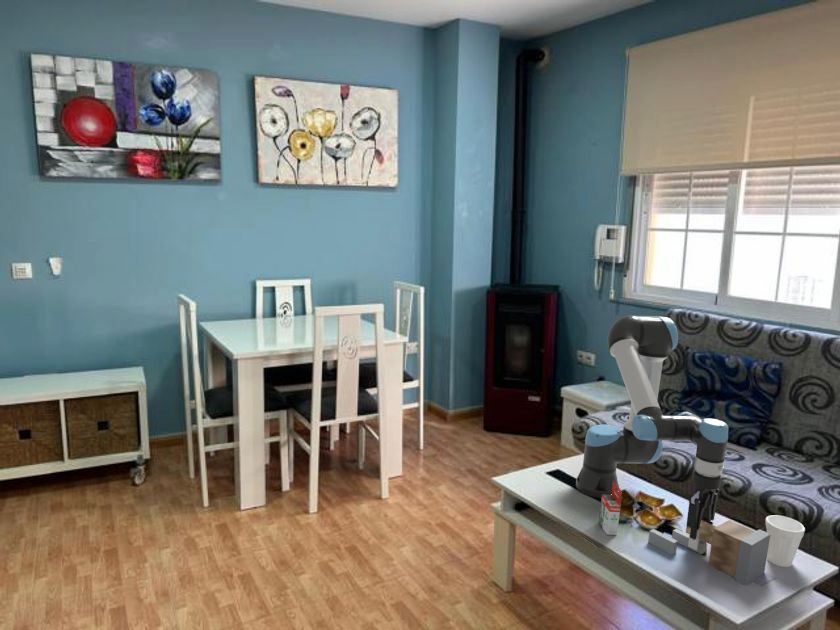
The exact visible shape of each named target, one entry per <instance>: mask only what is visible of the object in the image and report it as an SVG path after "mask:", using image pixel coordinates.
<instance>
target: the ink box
mask: <svg viewBox="0 0 840 630" xmlns="http://www.w3.org/2000/svg"><path fill="white" fill-rule="evenodd" d="M616 488H617V489H618V491H619V492H618V491H617V489H616ZM622 497H623V492H622V490H621V489H620V486H619V487H618V486H617V485H616V484H615V482H614V481H613V487H612V495H602V498H600V499H601V501H600V506H599V507H600V509H599V515H598V516H599V517H598V524H599V525H600V527H601V528H602V530H603V532H604V534H605V535H608V536H617V535H618V529H619V521H620V514H621V505H622Z"/></svg>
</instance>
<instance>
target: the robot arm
mask: <svg viewBox="0 0 840 630" xmlns="http://www.w3.org/2000/svg"><path fill="white" fill-rule="evenodd" d="M609 328H610V329H609V331H608V334H607V338H606V339H607V342H606V343H607V347H608V351H609V354H610V356H612V357H613V358H615V361H616V364H617V366H618V370H619V371H620V375H621V377H622V380H623V383H624V385H625V389H626V391H627V394H628V396H629V399H630V408H629V409H630V410H629V415H628V416H629V418H628V419H627V421H625V422H624V423H623V429H622V430H621V429H620V428H619V427H618V426H616V425H612V424H610V425H609V424H596V425H593V426H590V427H589V428H588V429H587V431H586V435H585V439H584V442H585V443H584V450H583V461H582V466H581V470H580V471H579V473H578V476H577V477H576V479H575V480H576V481H575V487H576V489H577V490H578V491H579V492H581V493H582V494H584V495H586V496H590V497H593V498H597V499H601V498H602V495H611V494H612V487H613V481H614V482H615V484H616V485H617V486H618V487H619V488H620V485H619V480H618V476H617V467H618V466H617V465H618V464H641V465H645V464H652V463H655V462H657V461H658V460H659V459H660V458H661V455H662V451H663V447H664V446H663V445H664V444H663V441H670V442H671V441H674V442H675V441H676V442H690V443H692V444H694V445H695V446H696V452H695V457H694V465H693V469H694V470H692V471H693V473H692V478H691V479H692V483H693V484H694V485H695V487H696V488H695V491H694V495H693V496H692V495H689V496H688V511H687V517H686V518H687V519H686V526H688V527H690V534H689V542H688V547H690V548H692V549H695V550H698V545H699V540H700V539H699V538H700V531H701V529H699V527H700V523H701V520H703V521H705V522H707V523H709V524H712V525H714V522H713V521H714V520H715V516H716V509H717V505H718V499H719V494H720V492H721V489H720V487H721V484H722V474H723V470H724V469H725V466H724V464H725V463H724V462H725V458H726V451H727V445H728V440H729V425H728V424H727V423H726V422H724V421H723V420H719V419H716V418H709V417H708V418H703V419H702V418H701V417H699V416H698V415H696V414H695V413H691V412H689V411H683V412H680V413H678V414H676V415H666V414H665V415H664V414H663V412H662V409H661V407H660V404H659V401H658V399H659V398H658V397H659V390H660V383H661V377H662V369H663V363H664V361H665V360H666V359H667V358H669V355H670V351H671V352H672V351H673V350H675V349H676V347H677V346H678V342H679V333H678V328H677V326H676V324H675V322H674V321H673V320H672V319H671V318H669V317H667V316H666V317H665V316H658V315H633V314H632V315H631V314H630V315H624V316H622V317H620V318H618V319H617V320H616V321H614V323H613V324H612V325H611V327H609ZM616 489H617V488H616ZM617 491H618V489H617ZM701 541H702V540H701ZM703 542H704V541H703ZM705 543H706V542H705ZM706 544H707V543H706ZM688 547H687V548H688ZM690 548H689V549H690ZM692 549H691V550H692Z"/></svg>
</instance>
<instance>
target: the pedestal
mask: <svg viewBox="0 0 840 630" xmlns="http://www.w3.org/2000/svg"><path fill="white" fill-rule="evenodd" d="M648 533H649V534H648V540H647V541H648V542H647V543H649V544H650V545H652V546H654V547H656V548H658V549H660V550H662V551H664V552H666V553H668V554H670V555H671V556H674V555H675V554H676V553H677V551H678V549H677V548H678V544H679V543H678V541H677V540H675V539H673V538H672V536H668V535H666V534H664V533H663V532H660V531H659V530H656V529H654V528H652V529H651V530H650V529H649V532H648Z"/></svg>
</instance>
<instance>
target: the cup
mask: <svg viewBox="0 0 840 630" xmlns="http://www.w3.org/2000/svg"><path fill="white" fill-rule="evenodd" d="M765 528H766V532H767V533H769V534H771V535H770V541H769V547H768V553H767V559H766V561H768V562H770V563H771V564H773V565H774V566H778V567H781V568H791V567H792V565H793V562H794V560H795V558H796V554H797V551H798V549H799V546H800V545H801V542H802V538H803V537H804V534H805V531H806V528H805V527H804V524H802V523H801V522H799V521H798V520H796V519H794V518H791V517H788V516H784V515H779V514H775V515H771V514H770V515H768V516H766V517H765Z"/></svg>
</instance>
